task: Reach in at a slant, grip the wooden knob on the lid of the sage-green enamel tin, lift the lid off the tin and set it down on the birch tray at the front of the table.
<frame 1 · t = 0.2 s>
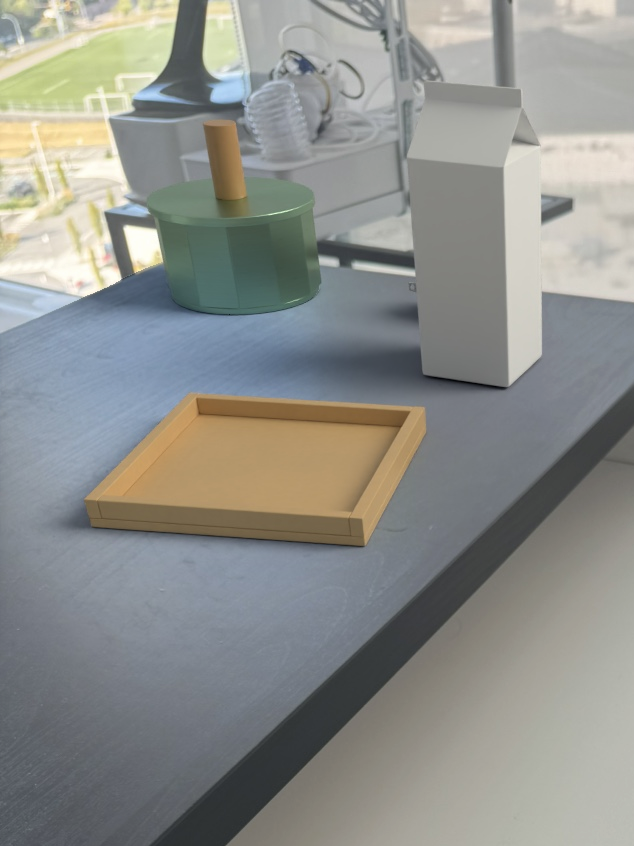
tray: (271, 476, 75), on the table
usb wall charger: (450, 316, 100), on the table
lid: (232, 205, 99), point 7 cm above the table, touching tin
milk carton: (483, 370, 90), on the table
tin: (246, 291, 103), on the table
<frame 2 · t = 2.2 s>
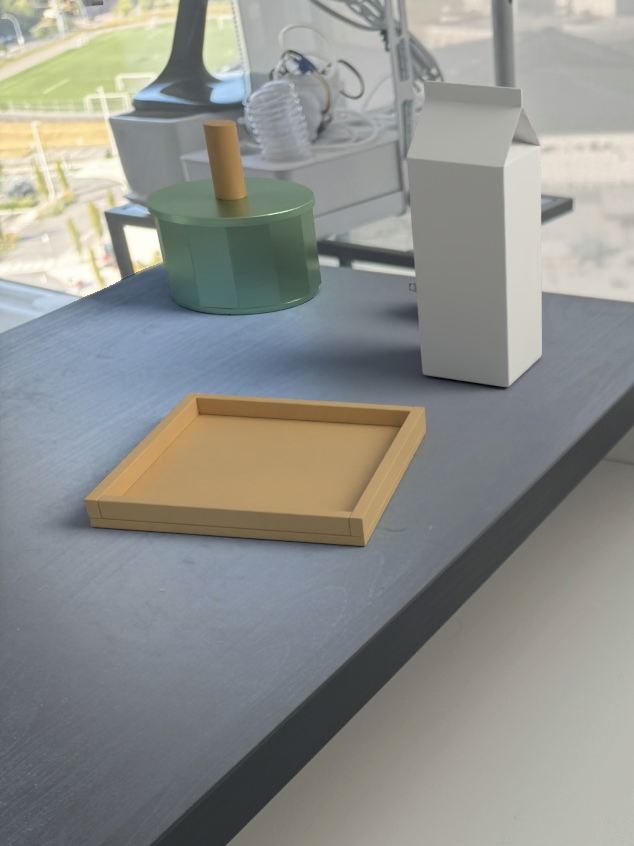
nothing on the table moved.
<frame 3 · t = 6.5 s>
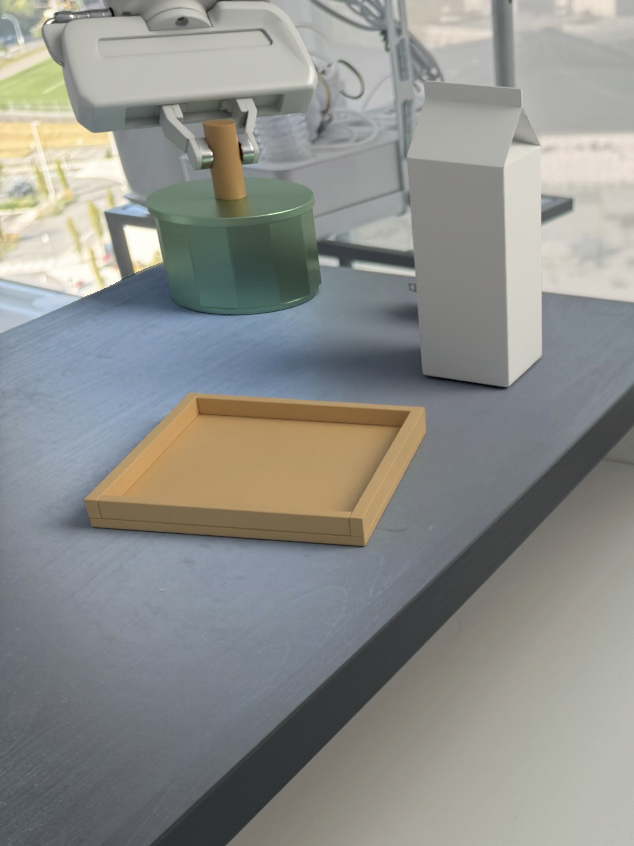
hand: (228, 162, 96), 10 cm above the table, tool tilted 45°, fingers closed on lid, 2 cm apart
lid: (232, 205, 99), point 7 cm above the table, touching gripper, tin
everything else where it was.
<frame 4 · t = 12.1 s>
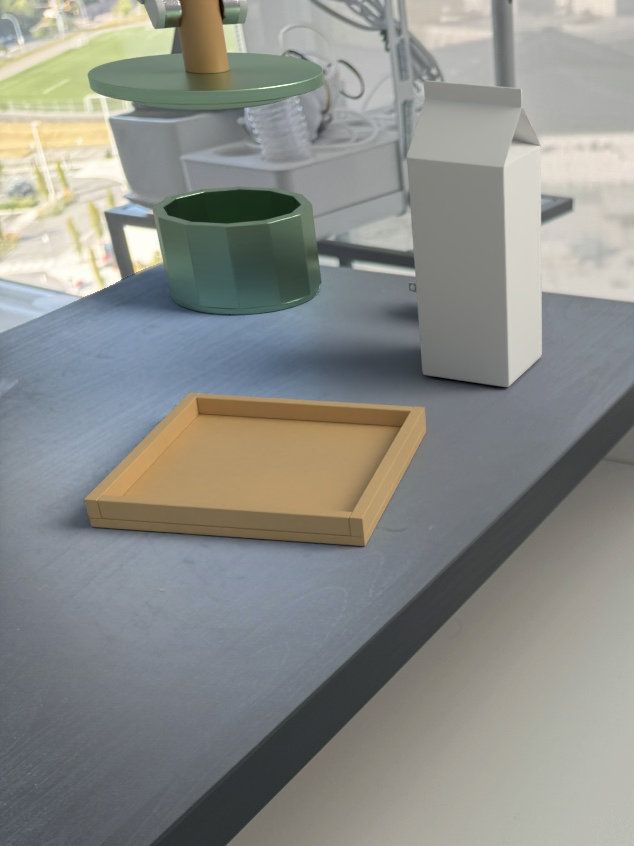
hand: (203, 19, 69), 23 cm above the table, tool tilted 45°, fingers closed on lid, 2 cm apart
lid: (209, 83, 71), point 20 cm above the table, touching gripper
everything else where it was.
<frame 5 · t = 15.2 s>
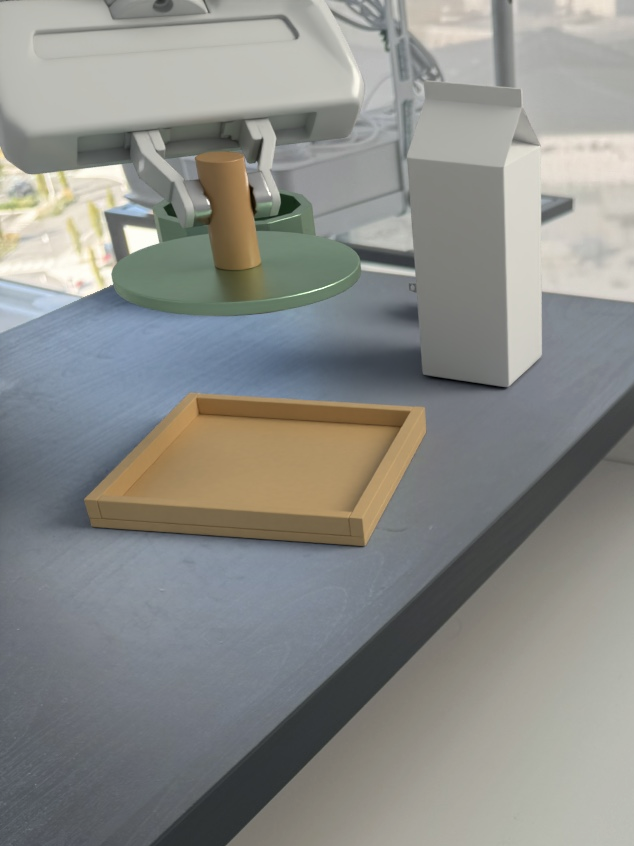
hand: (233, 215, 64), 16 cm above the table, tool tilted 45°, fingers closed on lid, 2 cm apart
lid: (240, 276, 67), point 12 cm above the table, touching gripper
everything else where it was.
when the fingers open (4 cm above the table, at t = 17.7 s): lid stays where it is, resting on tray.
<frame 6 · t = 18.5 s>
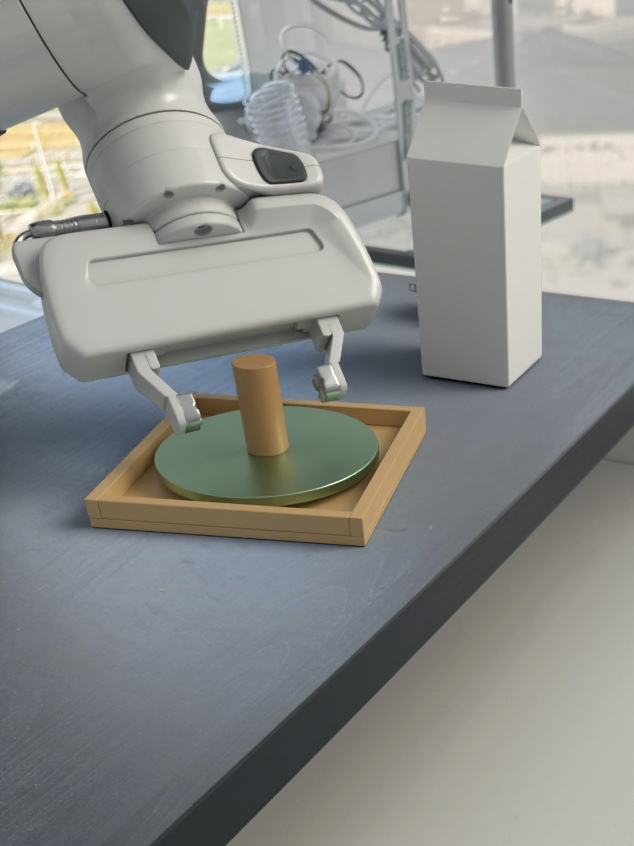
hand: (264, 412, 72), 4 cm above the table, tool tilted 45°, fingers open, 8 cm apart
lid: (269, 458, 74), point 1 cm above the table, touching tray
everything else where it was.
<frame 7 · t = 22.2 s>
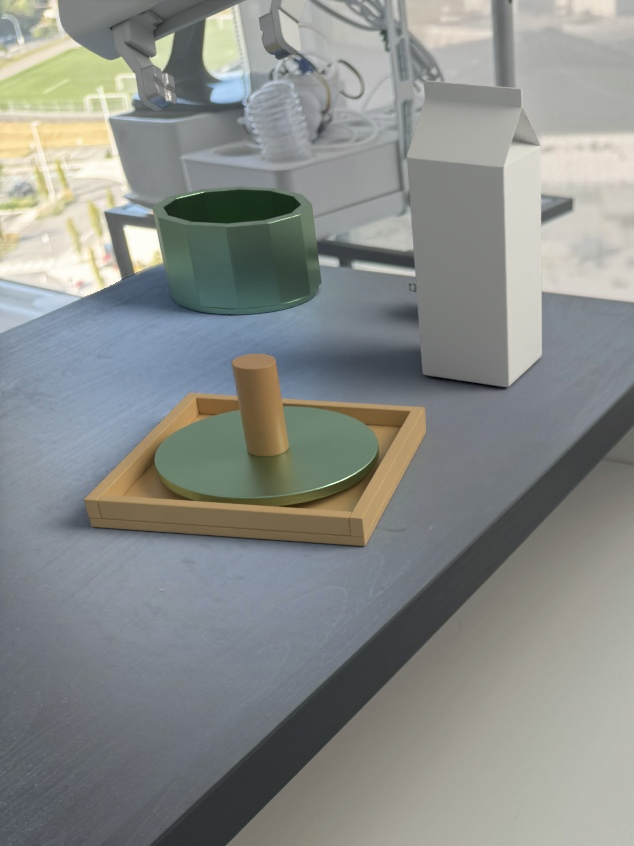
hand: (219, 79, 70), 20 cm above the table, tool tilted 35°, fingers open, 8 cm apart
nothing on the table moved.
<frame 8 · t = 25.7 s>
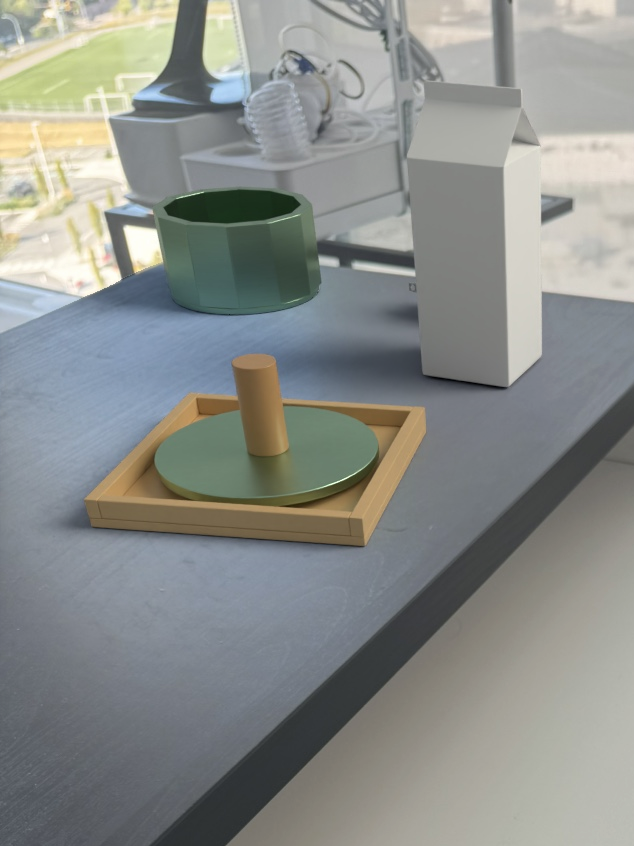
nothing on the table moved.
at the end: lid inside the target area in the tray (0.1 cm from its centre), point 1.2 cm above the tray's base; lid tilted 0°; the gripper is holding nothing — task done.
